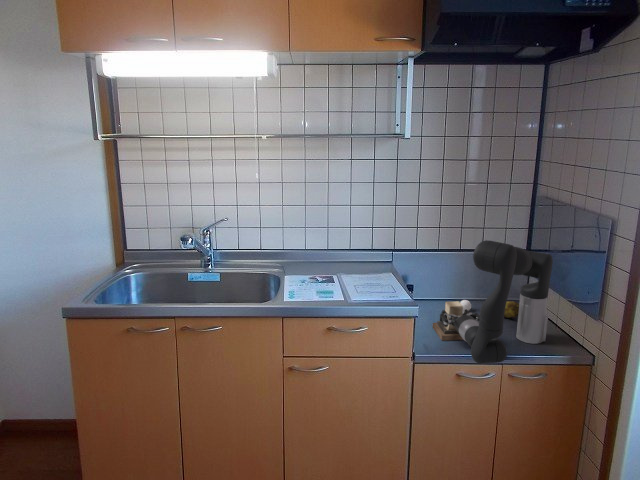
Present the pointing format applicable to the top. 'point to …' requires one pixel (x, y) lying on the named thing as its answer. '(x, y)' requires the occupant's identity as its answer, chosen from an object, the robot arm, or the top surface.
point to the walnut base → (446, 332)
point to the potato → (511, 309)
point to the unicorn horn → (465, 305)
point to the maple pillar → (453, 311)
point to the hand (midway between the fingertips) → (454, 312)
